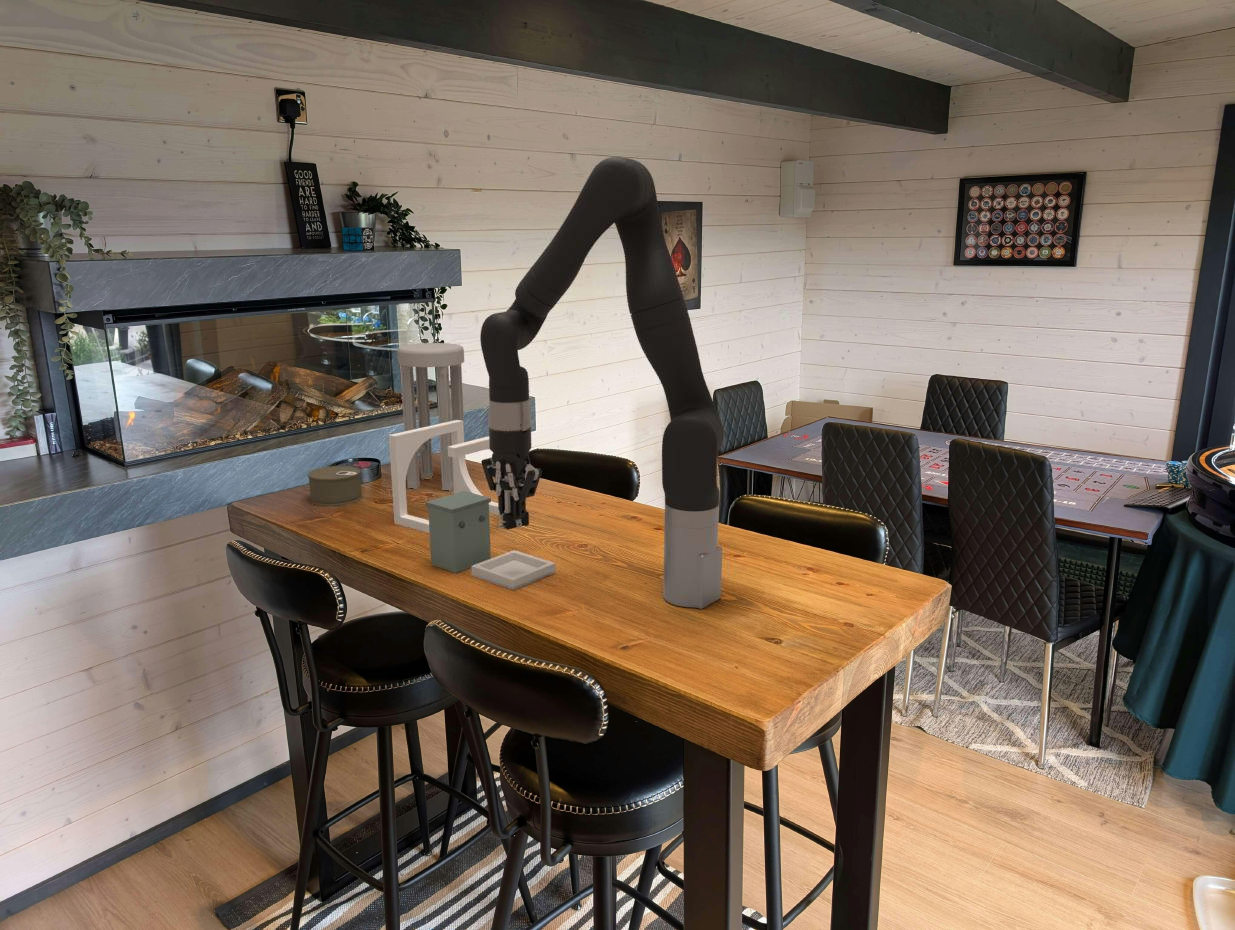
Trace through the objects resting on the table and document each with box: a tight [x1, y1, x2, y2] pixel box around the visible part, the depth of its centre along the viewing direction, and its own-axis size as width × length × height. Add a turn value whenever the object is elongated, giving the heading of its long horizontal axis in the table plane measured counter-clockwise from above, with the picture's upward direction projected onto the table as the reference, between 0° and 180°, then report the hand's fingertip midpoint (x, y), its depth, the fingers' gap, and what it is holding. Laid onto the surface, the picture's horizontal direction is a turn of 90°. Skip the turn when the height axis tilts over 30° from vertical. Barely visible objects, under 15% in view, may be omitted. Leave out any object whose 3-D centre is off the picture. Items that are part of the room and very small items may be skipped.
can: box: [307, 465, 363, 507], centre depth 210 cm, size 12×12×7 cm
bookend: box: [388, 420, 501, 535], centre depth 193 cm, size 20×20×20 cm
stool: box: [396, 342, 466, 492], centre depth 220 cm, size 16×16×35 cm
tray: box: [471, 549, 557, 591], centre depth 164 cm, size 11×11×2 cm
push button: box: [495, 476, 530, 530], centre depth 161 cm, size 7×5×10 cm
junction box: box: [425, 491, 492, 574], centre depth 169 cm, size 8×10×13 cm
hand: (512, 515), depth 162 cm, fingers closed on push button, 3 cm apart
